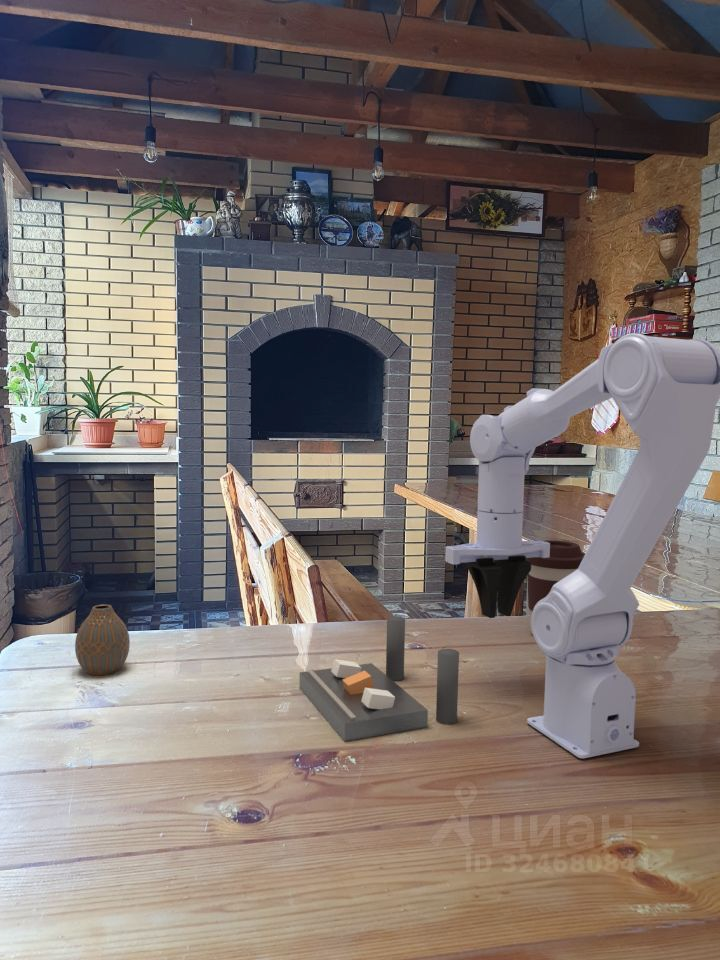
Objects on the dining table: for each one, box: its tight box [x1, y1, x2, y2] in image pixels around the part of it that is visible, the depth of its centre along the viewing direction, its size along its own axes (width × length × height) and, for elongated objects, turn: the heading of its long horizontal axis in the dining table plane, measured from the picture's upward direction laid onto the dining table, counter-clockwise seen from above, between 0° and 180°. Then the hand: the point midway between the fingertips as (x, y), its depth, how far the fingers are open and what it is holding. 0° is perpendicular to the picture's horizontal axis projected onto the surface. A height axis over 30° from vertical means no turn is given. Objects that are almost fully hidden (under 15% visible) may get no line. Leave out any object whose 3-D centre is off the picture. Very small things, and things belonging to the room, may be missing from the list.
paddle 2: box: [361, 688, 395, 709], centre depth 80 cm, size 2×3×2 cm, turn 112°
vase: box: [74, 604, 131, 676], centre depth 95 cm, size 7×7×9 cm
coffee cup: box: [526, 539, 586, 636], centre depth 113 cm, size 10×10×15 cm
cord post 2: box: [435, 648, 460, 725], centre depth 81 cm, size 2×2×8 cm
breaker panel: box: [299, 662, 429, 742], centre depth 85 cm, size 16×10×2 cm, turn 22°
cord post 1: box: [385, 616, 406, 682], centre depth 94 cm, size 2×2×8 cm
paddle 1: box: [331, 658, 361, 678], centre depth 89 cm, size 2×3×2 cm, turn 112°
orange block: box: [342, 671, 374, 695], centre depth 84 cm, size 2×3×2 cm, turn 112°
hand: (496, 615), depth 91 cm, fingers closed
